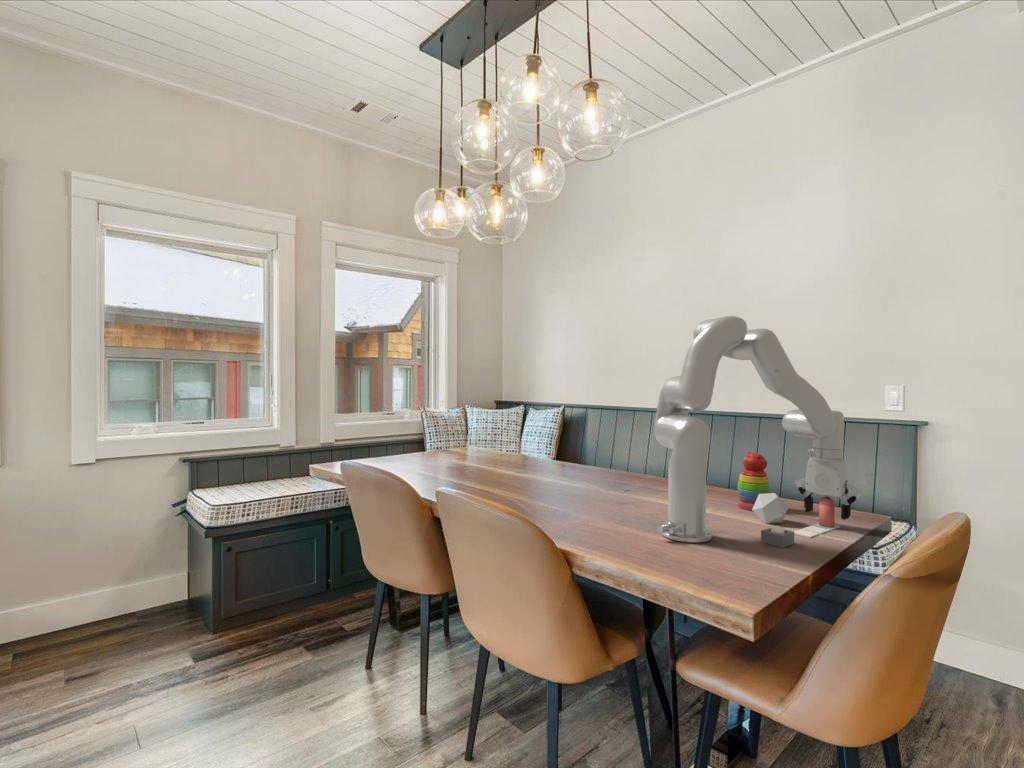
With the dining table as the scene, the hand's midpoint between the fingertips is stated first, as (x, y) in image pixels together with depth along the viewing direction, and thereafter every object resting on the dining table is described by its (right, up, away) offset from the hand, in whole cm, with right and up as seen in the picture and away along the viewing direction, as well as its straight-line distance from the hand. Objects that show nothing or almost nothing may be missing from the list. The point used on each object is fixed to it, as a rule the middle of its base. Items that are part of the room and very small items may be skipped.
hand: (826, 514), depth 154 cm
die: (-13, -3, +5) cm, 15 cm away
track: (-7, -3, -5) cm, 10 cm away
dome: (-21, -3, -15) cm, 26 cm away
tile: (0, -3, 0) cm, 3 cm away
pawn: (0, -3, 0) cm, 3 cm away
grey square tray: (-21, -4, -15) cm, 26 cm away
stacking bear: (-11, -3, +22) cm, 25 cm away
